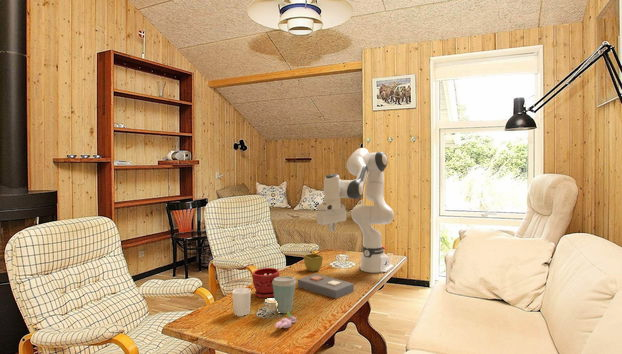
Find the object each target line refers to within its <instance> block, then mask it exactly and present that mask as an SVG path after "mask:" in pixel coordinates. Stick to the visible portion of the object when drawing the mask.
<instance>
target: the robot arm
mask: <svg viewBox="0 0 622 354" xmlns="http://www.w3.org/2000/svg"><path fill="white" fill-rule="evenodd" d="M388 160H389V159H388V156H387V154H386V153H385V152H384V151H376V152H369V150H368V149H367V148H364V147H360V148H357V149H356V150H354V151H353V153H352V154H351V155H350V156H349V158H348V159H347V161H346V164H345V165H346V169H347V171H348V172H349V173H350V174H351V175H352V176H355V177H356V179H348V180H347V179H345V180H344V179H341V177H340V175H339V174H338V173H329V174H326V175H325V176H324V178H323V179H324V181H323V195H324V197H323V201H322V202H321V203H319V204H317V206H316V210H317V212H316V223H317V224H318V225H320V226H323V225H325V226H326V225H327V227H328V230H329V232H330V233H333V232H336V228H337V226H338V223H340V222H346V221H347V210H346V206H345V204H344V203H341V202H342V201H341V198H342V199H353V200H358V199H360V197H362V195H363V194H364V188H365V198H366V199H367V200H369V201H370V202H372V203H374V204H373V205H363V204H362V205H357V206H354V207H352V210H351V213H350V216H351V219H352V220H353V222H354V223H355V224H357V225H358V227H359V229H360V230H361V233H362V243H363V244H362V249H361V250H362V254H361V259H360V265H358V267H359V268H360V270H361V271H362V272H364V273H374V274H375V273H378V274H379V273H383V272H385V273H387V272H389V271H390V270H392V269H393V268H395V266H394V264H392V263H391V260H390V257H389V256H388V255H387V254H386V253H385V252H384V250H386V245H385V246H384V245H382V241H383V240H382V238H383V237H382V233H381V232H380V231H379V230H378V229H376V228H374V227H373V225H388V224H391V223H392V222H393V221H394V219H395V213H394V210H393V209H392V208H391V206H389V205H388V204H387V202H386V201H385V195H384V191H385V175H384V171H385V169H386V168H387V165H388V163H389V161H388Z"/></svg>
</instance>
